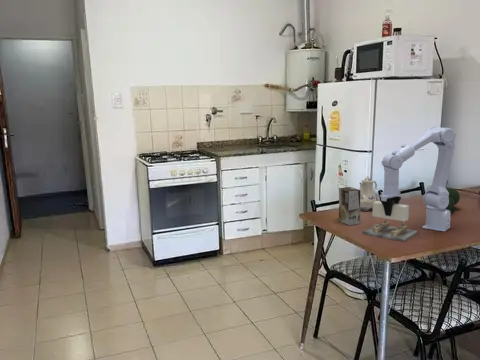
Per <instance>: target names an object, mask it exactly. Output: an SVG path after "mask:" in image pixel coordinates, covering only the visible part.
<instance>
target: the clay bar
mask: <svg viewBox="0 0 480 360" xmlns="http://www.w3.org/2000/svg"><path fill="white" fill-rule="evenodd" d="M409 210H410V205H409V204H401V203H398V204H396V203H394V204H393V207H392V213H391V216H386V215H385V211H384V207H383V205H382V203H381V200H378V201H376V202H373V207H372V217H375V218H382V219H386V220H387V219H388V220H392V221H400V222H406V221H408V220H409V212H410V211H409Z"/></svg>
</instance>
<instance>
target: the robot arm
mask: <svg viewBox="0 0 480 360" xmlns="http://www.w3.org/2000/svg"><path fill="white" fill-rule="evenodd" d="M456 135H457V134H456V132H454V129H452V128H450V127H437V126H432V127H430V128H429V129H426V130H425V132H424V133H423V134H421V135H420V136H419V137H418V138H417V139H415V140H414V141H412V142H411V143H410V144H407V143H406V144H401V145H400V147H399V148H398V149H396V150H393V151H392V153H391V154H389V153H388V154H386V155H385V156H384V157H383V158H382V160H381V165H382V166H383V170H384V177H383V184H384V185H383V191H382V192H380V195H381V194H383V195H382V196H381V197H380V201H381V203H382V205H383V207H384V211H385V215H386V216H391V213H392V207H393V204H394V203H396V204H400V201H401V200H402V197H401V190H399V179H400V169H401V168H402V166H403V164H404V163H405V162H406V161H408V160H409V159H410V158H412V157H414V155H415V153H416V151H417V150H419V149H421V148H422V147H424V146H426V145H428V144H429V143H433V144H434V145H435V146H437V148H438V149H439V154H438V157H437V161H436V164H435V165H436V166H435V170H434V175H433V180H432V182H431V183H432V184H431V185H430V186H429V187H427V188H426V191H425V193H424V194H423V197H422V201H423V203H424V204H425V208H426V210H425V213H426V214H425V224H424V225H423V226H421V227H422V228H423V229H428V230H432V231H440V232H446V231H448V230H449V229H450V228H451V215H452V214H451V213H450V210H446V207H447V206H448V204H449V192H448V191H447V189H446V188H445V187H447V185H446V183H447V180H448V178H449V173H450V170H451V166H452V161H453V157H454V152H455V150H456V149H455V147H456V146H455V145H456V144H455V140H456ZM447 184H448V183H447Z"/></svg>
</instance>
